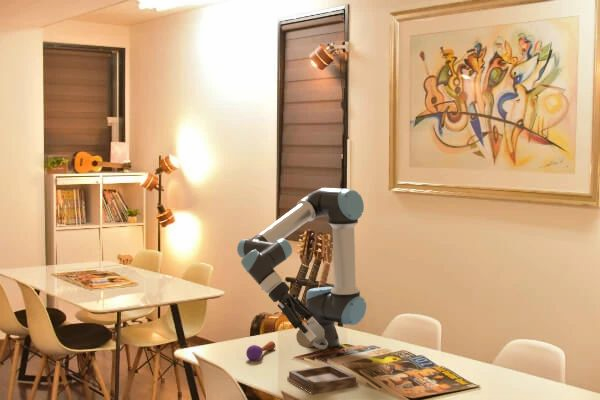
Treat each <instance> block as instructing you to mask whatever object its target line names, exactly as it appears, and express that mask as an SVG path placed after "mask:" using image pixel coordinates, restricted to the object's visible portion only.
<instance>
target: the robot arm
mask: <svg viewBox="0 0 600 400" xmlns="http://www.w3.org/2000/svg"><path fill="white" fill-rule="evenodd" d="M364 205H365V204H364V200H363V198H362V196H361V194H360V193H359V192H358V191H357V190H354V189H349V188H340V187H339V188H338V187H337V188H336V187H321V188H319V189H316V190H313V191H312V192H310V193H308V194H307V195H305V196H303V197H302V198H301V199H300V200H298V201H297V203H296V206H295V207H292V208H291V209H290V210H288V211H287V212H286V213H285V214H283V215H282V216H280V217H279V218H278V219H277V220H275V221H274V222H272V223H271V224H270V225H268V226H267V227H265V228H264V229H263V230H262V231H260V232H259V233H257V234H256V235H254V236H253V237H252V238H244V239H241V240H240V241H239V242H238V244H237V248H236V250H237V251H236V252H237V254H238V256H239V257H240V258H242V259H241V265H242V267H243V269H244V270H245V271H246V272H247V273H248V274H249V275H250V277H252V279H253V280H254V281H255V282H256V283H257V284H258V285H259V287H260V289H261V290H262V291H264V292H265V293H266V294H268V297H269V299H271V301H272V302H273V303H277V302H279V303H278V304H277V307H278V308H279V310H280V311H281V312H282V313H283V315H284V317H286V319H287V320H288V322H289V323H290V324H291V325H292V327H294V329H295V330H297V329H299V330H301V332H302V333H303V334H304V335H305V336H306V337H307V339H308V340H309V341H310V342H311V341H312V340H313V339H314V338H316V335H315V334H314V333H313V332H312V331H311V330H310V328H309V327H308V326H307V325H308V324H310V323H312V322H316V323H318V324H320V325H321V326H322V328H323V329H324V332H325V337H324V338H325V339H326V340H327V342H328V345H327V348H332V347H336V346H338V345H339V343H340V338H339V334H338V332H337V328H336V325H335V323H338V324H342V325H346V326H355V325H358V324H359V323H360V322H361V321H362V320H363V318H364V316H365V314H366V311H367V302H366V300H365V298H363V297H362V296H361V294H360V293H361V292H360V291H361V290H360V288H358V286H357V285H356V284H357V283H356V280H357V279H356V277H357V275H356V246H355V245H356V244H355V226H357V224H358V223H359V219H360V218H361V217H362V215H363V212H364V207H365V206H364ZM320 217H321V218H322V217H325V218H326V217H327V218H328V220H327V221H328V225H330V226H331V228H332V253H333V255H332V256H333V260H332V261H333V285H334V286H324V287H323V286H322V287H320V286H319V287H314V288H310V289H308V290H307V291H306V297H305V304H304V302H302V301H301V299H299V297H298V296H297V295H296V294H295V293H293V294H292V295H291V293H289V291H291V288H290V286H289V285H288V284H287V283H286V282H285V281H283V278H282V277H281V275H279V274H278V272H277V271H276V270H275V268H276V267H277V266H279V265H280V264H282V263H283V262H285V261H286V260H287V259H288V258H289V257H290V256H291V255H292V253H293V248H292V245H291V243H290V242H289V241H288V240H287V239H286V238H287V237H289V236H290V235H291V234H293V233H294V232H296V231H297V230H298V229H299V228H300V227H301V226H304V224H306V223H307V222H313V221H314V220H315V219H317V218H320ZM300 316H301V317H303V318H304V319H305V321H306V322H303V320H302V318H300ZM319 345H325V344H324V343H323V342H321V343H319ZM310 348H316V349H318V348H317V347H315V346H311V347H310Z"/></svg>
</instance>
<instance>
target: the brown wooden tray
mask: <svg viewBox="0 0 600 400" xmlns="http://www.w3.org/2000/svg"><path fill="white" fill-rule="evenodd" d="M288 375H289V376H286V377H287V378H286V380H287V381H288V380H289V381H288V382H290V383H292V384H293V383H294V385H295V384H296V386H297V385H298V386H297V387H299V386H300V387H302V388H303V389H302V388H301V389H302V390H304V389H306V390H307V391H309V392H311V393H312V394H311V393H310V394H311V395H315V394H314V393H317V394H321V393H322V392H323V393H329V392H334V391H338V390H344V389H348V388H354V387H359V382H357V377H356V376H355V375H353V374H351V373H349V372H346V371H345V370H344V369H341V368H339V367H337V366H335V365H333V364H325V365H320V366H314V367H306V368H301V369H300V368H299V369H295V370H289V372H288ZM300 387H299V388H300ZM306 390H305V391H306ZM307 391H306V392H307ZM309 392H308V393H309Z"/></svg>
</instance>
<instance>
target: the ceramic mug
mask: <svg viewBox="0 0 600 400" xmlns="http://www.w3.org/2000/svg"><path fill="white" fill-rule="evenodd" d="M307 326H308V327H309V328H310V330H311V331H312V332H313V333H314V334H315V335H316V338H314V339H313V340H312V341H311V342H310V341H309V340H308V339H307V337H306V336H305V335H304V334H303V333H302V332H301V330H300V329H299V330H297V332H296V335H295V336H296V341H297V343H298V345H300V346H301V347H303V348H312V347H311V346H315V347H317V348H316V349H320V350H325V349H327V348H328V347H327V345H328V342H327V340H326V339H325V338H324V337H325V332H324V329H323V328H322V326H321V325H320V324H318V323H316V322H312V323H310V324H308V325H307ZM321 342H323V343H324V344H325V345H319V343H321ZM315 347H314V348H315Z"/></svg>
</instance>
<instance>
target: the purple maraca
mask: <svg viewBox="0 0 600 400" xmlns="http://www.w3.org/2000/svg"><path fill="white" fill-rule="evenodd" d="M275 349H276V344H275V342H274V341H272V340H270V341H269V342H267V343H265V345H263V346H262V347H261V346H259V345H256V344H255V345H254V344H252V345H250V346H249V347H247V349H246V353H245V354H246V357H247V359H248V360H249V361H251V362H256V361H259V360H260V359H261V358H262V355H263V352H265V351H266V352H267V351H271V350H275Z"/></svg>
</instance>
